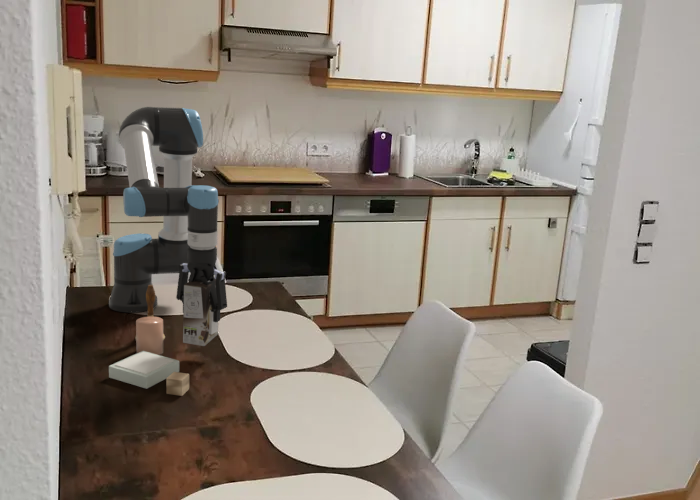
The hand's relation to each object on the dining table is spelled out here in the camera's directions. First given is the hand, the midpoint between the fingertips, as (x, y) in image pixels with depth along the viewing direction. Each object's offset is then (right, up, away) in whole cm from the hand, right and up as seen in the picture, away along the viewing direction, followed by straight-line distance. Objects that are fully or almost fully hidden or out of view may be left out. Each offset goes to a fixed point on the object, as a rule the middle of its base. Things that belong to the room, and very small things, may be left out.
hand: (201, 329), depth 178 cm
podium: (-12, -10, -9) cm, 18 cm away
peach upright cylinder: (-15, -7, +5) cm, 17 cm away
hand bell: (-18, -4, +15) cm, 24 cm away
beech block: (-2, -13, -17) cm, 22 cm away
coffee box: (0, -3, +1) cm, 3 cm away
